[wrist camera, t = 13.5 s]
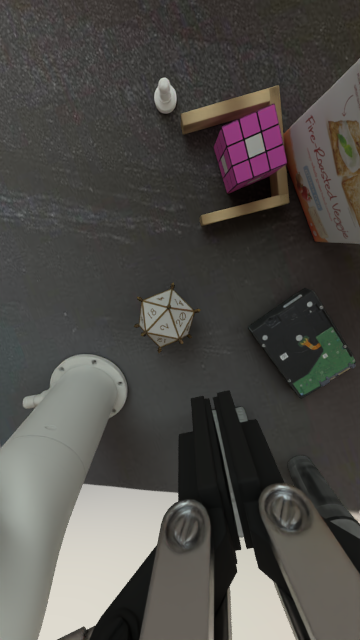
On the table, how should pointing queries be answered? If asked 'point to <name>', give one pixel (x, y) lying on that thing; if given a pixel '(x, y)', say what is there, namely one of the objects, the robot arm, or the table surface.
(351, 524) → the beverage cup
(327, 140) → the cracker box
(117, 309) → the table surface
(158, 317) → the game die
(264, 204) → the frame
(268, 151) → the puzzle toy
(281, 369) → the disk drive
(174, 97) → the chess pawn
